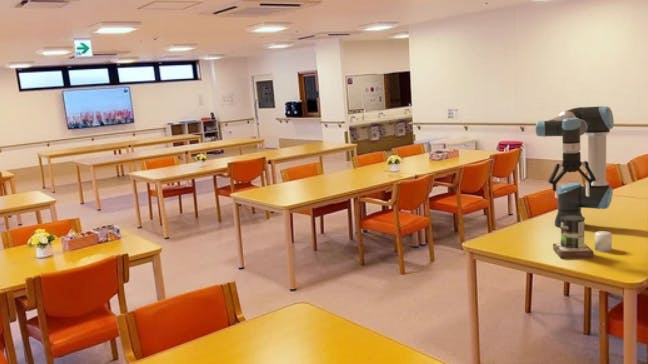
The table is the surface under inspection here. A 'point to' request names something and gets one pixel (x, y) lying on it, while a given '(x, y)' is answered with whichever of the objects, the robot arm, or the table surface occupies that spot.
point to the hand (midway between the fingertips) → (572, 197)
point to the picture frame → (572, 252)
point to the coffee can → (572, 232)
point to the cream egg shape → (603, 241)
